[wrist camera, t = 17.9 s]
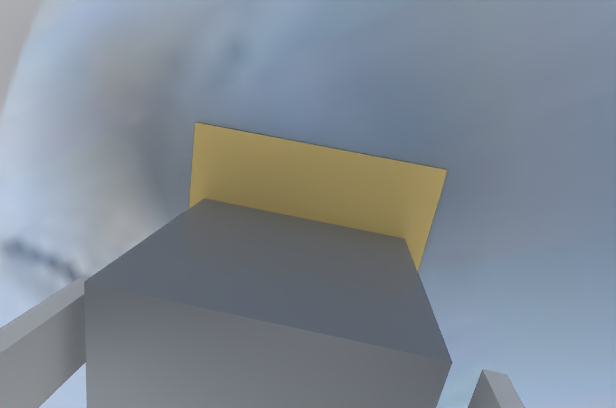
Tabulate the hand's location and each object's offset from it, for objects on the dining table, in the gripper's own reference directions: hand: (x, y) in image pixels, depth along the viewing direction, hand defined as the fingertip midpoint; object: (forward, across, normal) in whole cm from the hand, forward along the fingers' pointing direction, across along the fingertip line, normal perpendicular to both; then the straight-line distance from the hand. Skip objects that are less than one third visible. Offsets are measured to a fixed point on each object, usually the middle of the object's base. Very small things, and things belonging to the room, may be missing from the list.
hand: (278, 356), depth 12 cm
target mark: (+7, 0, 0) cm, 7 cm away
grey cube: (+7, +1, +2) cm, 7 cm away
